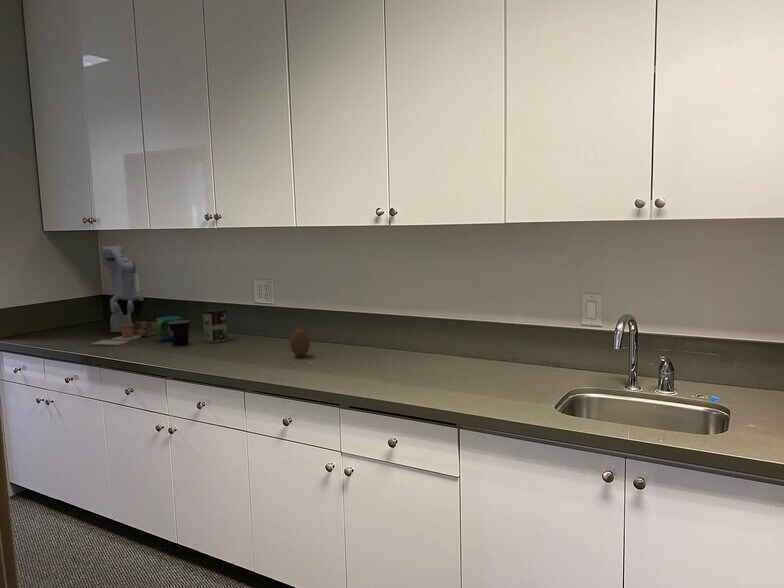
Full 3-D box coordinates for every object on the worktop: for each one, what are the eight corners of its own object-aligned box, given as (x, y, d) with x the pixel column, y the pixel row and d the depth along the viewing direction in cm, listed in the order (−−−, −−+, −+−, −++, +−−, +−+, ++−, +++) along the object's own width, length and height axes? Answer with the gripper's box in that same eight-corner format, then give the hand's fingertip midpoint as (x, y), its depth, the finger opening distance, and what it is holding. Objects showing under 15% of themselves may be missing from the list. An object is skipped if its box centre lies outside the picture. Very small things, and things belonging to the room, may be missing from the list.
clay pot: (118, 337, 287) (117, 324, 286) (127, 335, 293) (126, 322, 292) (128, 338, 286) (127, 325, 285) (136, 335, 291) (135, 322, 290)
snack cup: (173, 335, 294) (171, 314, 293) (190, 336, 290) (189, 315, 288) (148, 342, 280) (146, 320, 278) (166, 343, 276) (164, 321, 274)
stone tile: (111, 340, 286) (111, 338, 286) (125, 336, 294) (125, 334, 294) (126, 341, 283) (126, 339, 283) (140, 337, 291) (140, 335, 291)
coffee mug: (170, 343, 276) (169, 321, 275) (190, 341, 279) (189, 319, 277) (169, 348, 265) (167, 325, 264) (190, 346, 268) (188, 324, 266)
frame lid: (88, 345, 276) (88, 343, 276) (102, 341, 285) (102, 339, 285) (115, 346, 272) (115, 344, 272) (128, 342, 281) (128, 340, 281)
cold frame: (121, 335, 297) (120, 325, 297) (137, 331, 308) (136, 321, 307) (147, 337, 292) (146, 326, 291) (163, 332, 302) (162, 322, 302)
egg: (314, 354, 245) (312, 328, 243) (303, 359, 238) (301, 331, 236) (298, 353, 248) (296, 326, 247) (287, 357, 241) (285, 330, 240)
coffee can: (230, 337, 285) (228, 307, 283) (223, 342, 275) (221, 311, 273) (208, 338, 285) (206, 308, 283) (201, 342, 275) (198, 311, 273)
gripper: (110, 288, 294) (113, 316, 295) (135, 288, 289) (137, 316, 291) (121, 286, 300) (124, 313, 302) (145, 286, 295) (148, 314, 297)
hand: (131, 315), depth 297 cm, fingers open, 7 cm apart
